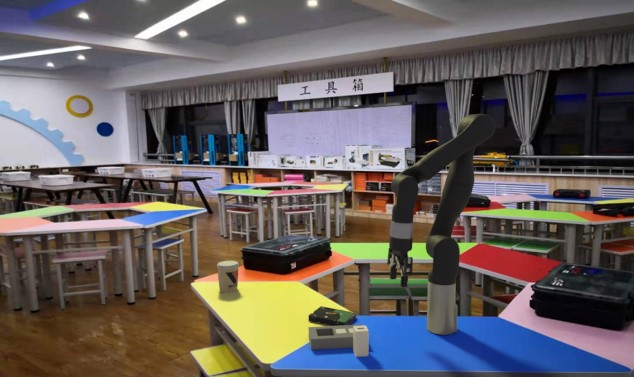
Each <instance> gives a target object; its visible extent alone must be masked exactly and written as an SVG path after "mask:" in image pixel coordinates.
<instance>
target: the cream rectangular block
mask: <svg viewBox="0 0 634 377" xmlns="http://www.w3.org/2000/svg"><path fill="white" fill-rule="evenodd" d="M369 332H370V331H369V329H368V327H367V325H362V326H353V347H352V351H353V354H354V356H355V358H359V357H369V355H370V354H369V351H370V350H369V346H370V345H369V341H370V340H369V339H370V338H369V336H370V334H369Z"/></svg>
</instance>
